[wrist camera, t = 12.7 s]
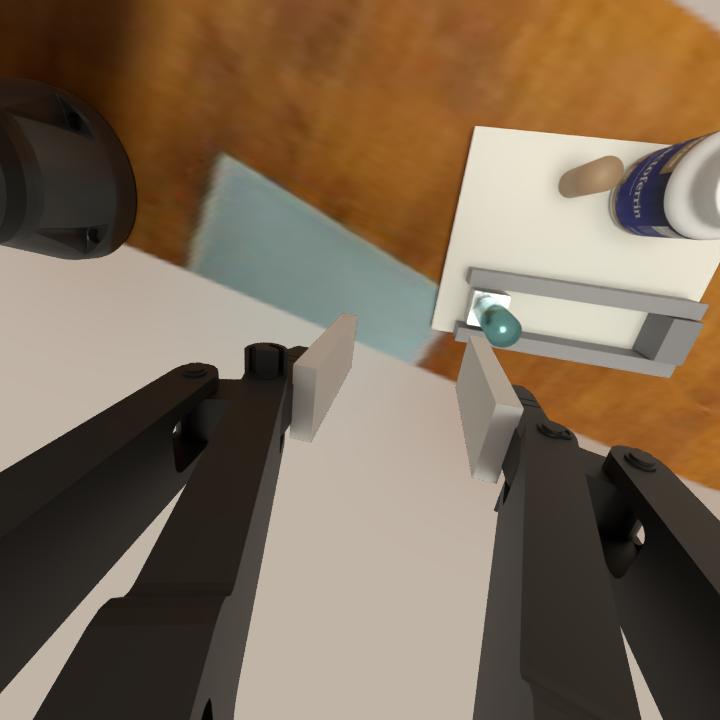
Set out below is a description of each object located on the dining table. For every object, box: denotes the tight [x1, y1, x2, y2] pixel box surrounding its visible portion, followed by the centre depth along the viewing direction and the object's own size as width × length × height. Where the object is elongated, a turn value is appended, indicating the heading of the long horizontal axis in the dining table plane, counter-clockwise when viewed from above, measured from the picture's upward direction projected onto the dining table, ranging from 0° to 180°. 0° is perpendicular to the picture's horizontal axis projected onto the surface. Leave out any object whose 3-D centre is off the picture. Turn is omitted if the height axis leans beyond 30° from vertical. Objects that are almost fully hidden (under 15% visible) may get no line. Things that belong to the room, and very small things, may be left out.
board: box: [431, 126, 720, 378], centre depth 25 cm, size 20×16×6 cm
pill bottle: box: [610, 131, 720, 240], centre depth 20 cm, size 6×6×10 cm
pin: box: [464, 286, 522, 348], centre depth 26 cm, size 3×3×8 cm
